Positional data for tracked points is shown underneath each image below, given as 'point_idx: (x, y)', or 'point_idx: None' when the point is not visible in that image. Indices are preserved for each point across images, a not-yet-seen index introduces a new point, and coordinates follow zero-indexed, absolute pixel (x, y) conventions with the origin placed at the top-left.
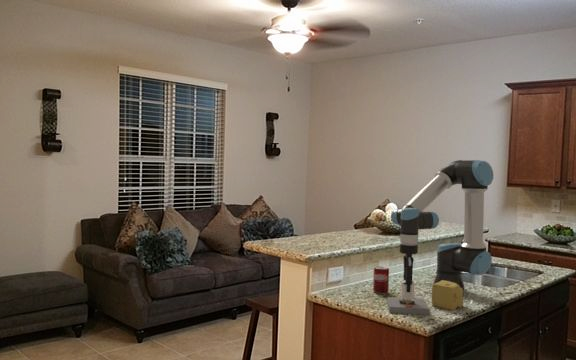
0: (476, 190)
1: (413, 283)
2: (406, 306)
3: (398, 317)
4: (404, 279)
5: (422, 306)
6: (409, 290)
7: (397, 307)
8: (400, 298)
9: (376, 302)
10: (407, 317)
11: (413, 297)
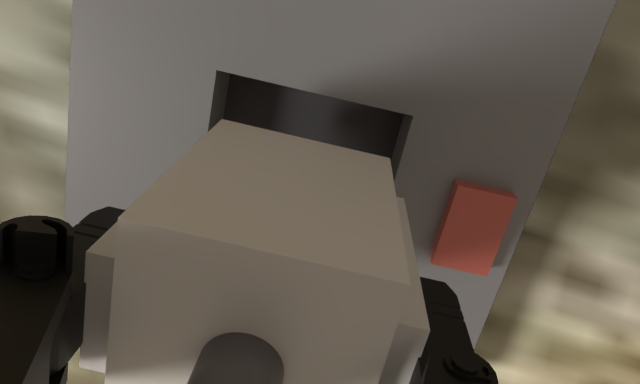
0: None
1: (402, 293)
2: (489, 260)
3: (598, 337)
4: (65, 379)
5: (484, 46)
6: (455, 314)
7: (475, 343)
8: (107, 203)
9: (104, 375)
10: (618, 261)
11: (390, 171)
